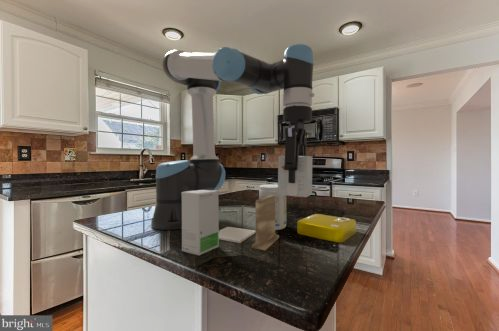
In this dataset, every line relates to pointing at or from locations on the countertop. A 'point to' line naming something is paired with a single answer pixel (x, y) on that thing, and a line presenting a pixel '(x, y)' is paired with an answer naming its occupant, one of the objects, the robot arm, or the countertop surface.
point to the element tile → (327, 227)
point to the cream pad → (235, 234)
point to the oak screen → (265, 223)
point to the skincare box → (200, 221)
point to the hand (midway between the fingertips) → (295, 193)
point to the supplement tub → (279, 204)
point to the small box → (303, 176)
